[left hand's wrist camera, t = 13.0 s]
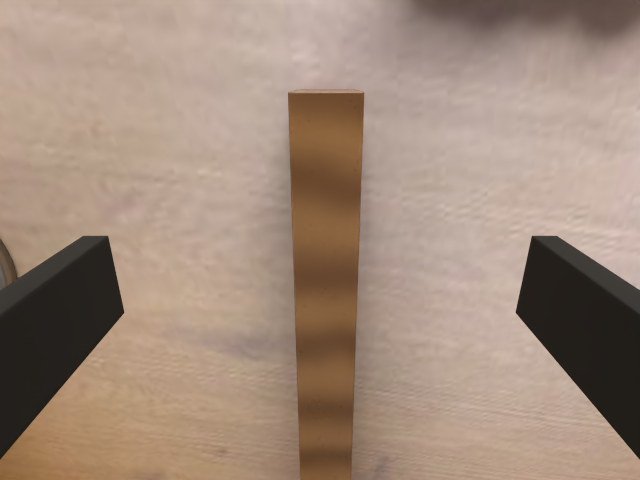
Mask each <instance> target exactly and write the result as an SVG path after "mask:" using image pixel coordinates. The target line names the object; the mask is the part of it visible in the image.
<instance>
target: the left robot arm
mask: <svg viewBox="0 0 640 480" xmlns="http://www.w3.org/2000/svg"><path fill="white" fill-rule="evenodd" d="M123 314H124V309H123V304H122V299H121V295H120V290H119V285H118V281H117V276H116V271H115V267H114V262H113V257H112V252H111V248H110V243H109V238H108V236H82V237H81V238H79V239H78V240H76V241H75V242H73V243H72V244H70V245H69V246H67V247H66V248H64V249H63V250H61V251H60V252H58V253H56V254H55V255H53V256H52V257H50V258H49V259H47V260H46V261H44V262H43V263H41V264H40V265H38V266H37V267H35V268H34V269H32V270H31V271H29V272H27V273H26V274H24V275H23V276H21V277H20V278H18V279H17V278H16V272H15V268H14V265H13V262H12V259H11V257H10V255H9V253H8V251H7V249H6V248H5V246H4V244H3V243H2V241H1V240H0V459H1V458H2V457H3V456H4V454H5V453H6V452H7V451H8V450H9V448H10V447H11V446H12V445H13V444H14V443H15V441H16V440H17V439H18V438H19V437H20V435H21V434H22V433H23V432H24V431H25V430H26V428H27V427H28V426H29V425H30V424H31V422H32V421H33V420H34V419H35V418H36V417H37V415H38V414H39V413H40V412H41V411H42V409H43V408H44V407H45V406H46V405H47V404H48V402H49V401H50V400H51V399H52V398H53V396H54V395H55V394H56V393H57V392H58V390H59V389H60V388H61V387H62V386H63V385H64V383H65V382H66V381H67V380H68V379H69V377H70V376H71V375H72V374H73V373H74V372H75V370H76V369H77V368H78V367H79V366H80V364H81V363H82V362H83V361H84V360H85V359H86V357H87V356H88V355H89V354H90V353H91V351H92V350H93V349H94V348H95V347H96V346H97V344H98V343H99V342H100V341H101V340H102V338H103V337H104V336H105V335H106V334H107V333H108V331H109V330H110V329H111V328H112V327H113V325H114V324H115V323H116V322H117V321H118V319H119V318H120V317H121V316H122V315H123ZM516 314H517V315H518V316H519V317H520V318H521V319H522V321H523V322H524V323H525V324H526V325H527V327H528V328H529V329H530V330H531V331H532V333H533V334H534V335H535V336H536V337H537V338H538V340H539V341H540V342H541V343H542V344H543V346H544V347H545V348H546V349H547V350H548V351H549V353H550V354H551V355H552V356H553V357H554V359H555V360H556V361H557V362H558V363H559V364H560V366H561V367H562V368H563V369H564V370H565V372H566V373H567V374H568V375H569V376H570V377H571V379H572V380H573V381H574V382H575V383H576V385H577V386H578V387H579V388H580V389H581V390H582V392H583V393H584V394H585V395H586V396H587V398H588V399H589V400H590V401H591V402H592V404H593V405H594V406H595V407H596V408H597V409H598V411H599V412H600V413H601V414H602V415H603V417H604V418H605V419H606V420H607V421H608V422H609V424H610V425H611V426H612V427H613V428H614V430H615V431H616V432H617V433H618V434H619V435H620V437H621V438H622V439H623V440H624V441H625V443H626V444H627V445H628V446H629V447H630V448H631V450H632V451H633V452H634V453H635V454H636V456H637V457H638V458H639V459H640V290H639V289H637V288H635V287H634V286H632V285H631V284H629V283H628V282H626V281H625V280H623V279H622V278H620V277H619V276H617V275H616V274H614V273H613V272H611V271H609V270H608V269H606V268H605V267H603V266H602V265H600V264H599V263H597V262H596V261H594V260H593V259H591V258H590V257H588V256H587V255H585V254H584V253H582V252H580V251H579V250H577V249H576V248H574V247H573V246H571V245H570V244H568V243H567V242H565V241H564V240H562V239H561V238H559V237H558V236H532V238H531V243H530V248H529V252H528V257H527V262H526V267H525V271H524V276H523V281H522V285H521V290H520V295H519V299H518V304H517V309H516Z"/></svg>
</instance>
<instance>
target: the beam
mask: <svg viewBox="0 0 640 480" xmlns="http://www.w3.org/2000/svg"><path fill="white" fill-rule="evenodd" d="M288 106H289V137H290V168H291V199H292V230H293V261H294V292H295V324H296V355H297V386H298V417H299V448H300V479H301V480H351V459H352V430H353V401H354V372H355V343H356V315H357V286H358V257H359V228H360V199H361V170H362V142H363V113H364V92H362V91H358V90H355V89H348V90H295V91H291V92H288Z"/></svg>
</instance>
